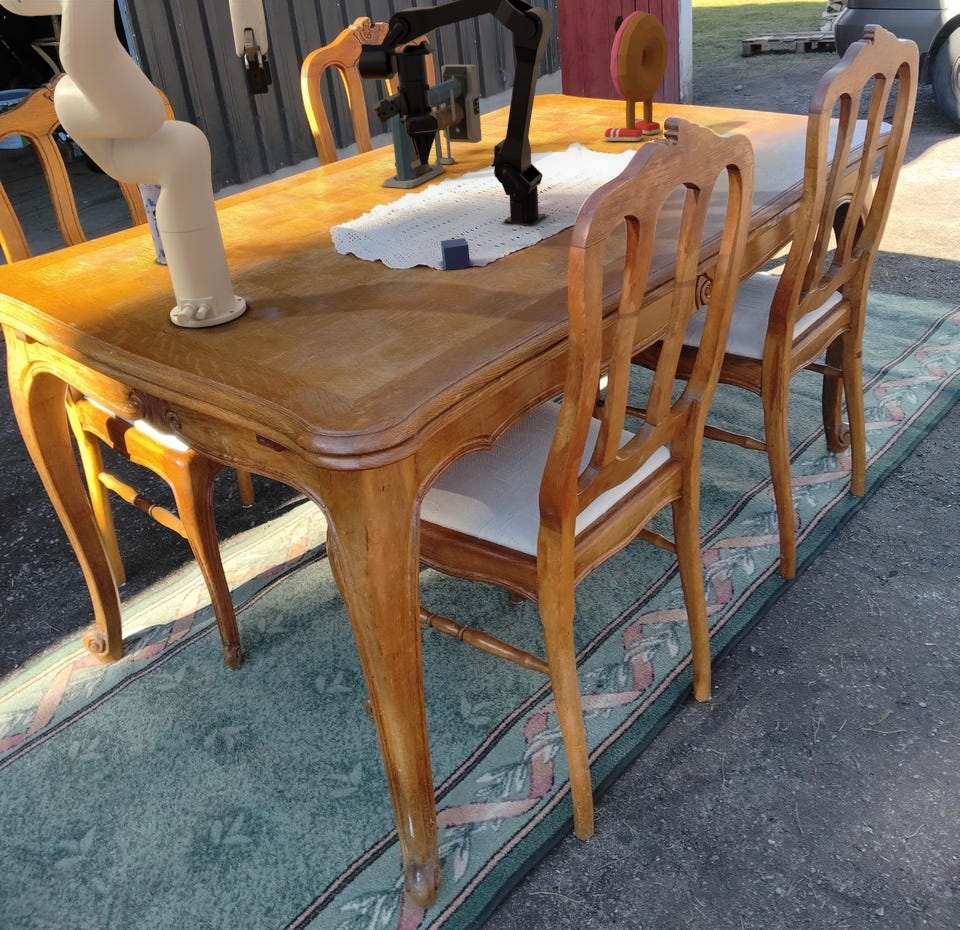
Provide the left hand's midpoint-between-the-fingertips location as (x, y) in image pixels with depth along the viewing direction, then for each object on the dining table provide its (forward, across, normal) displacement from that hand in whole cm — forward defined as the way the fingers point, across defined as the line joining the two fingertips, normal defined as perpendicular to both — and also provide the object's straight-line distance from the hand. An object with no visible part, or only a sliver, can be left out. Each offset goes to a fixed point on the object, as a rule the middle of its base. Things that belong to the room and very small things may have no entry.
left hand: (261, 89), depth 172 cm
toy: (+30, -72, +87) cm, 116 cm away
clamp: (+30, -59, +33) cm, 74 cm away
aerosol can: (+31, -8, -23) cm, 40 cm away
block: (+31, +14, +31) cm, 46 cm away
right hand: (+19, -18, +28) cm, 38 cm away
